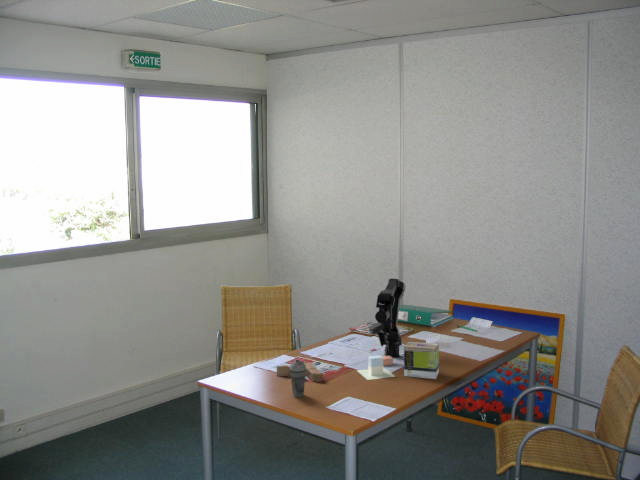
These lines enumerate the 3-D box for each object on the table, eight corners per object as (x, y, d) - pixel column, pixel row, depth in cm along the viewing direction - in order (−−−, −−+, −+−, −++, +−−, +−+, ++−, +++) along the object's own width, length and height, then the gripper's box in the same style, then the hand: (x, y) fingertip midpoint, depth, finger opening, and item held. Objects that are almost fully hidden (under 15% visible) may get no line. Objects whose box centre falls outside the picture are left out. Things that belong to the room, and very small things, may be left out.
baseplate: (383, 368, 306) (383, 367, 306) (395, 377, 293) (395, 376, 293) (356, 371, 302) (356, 370, 302) (367, 380, 288) (367, 379, 288)
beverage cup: (289, 392, 275) (288, 348, 272) (306, 391, 275) (305, 347, 273) (290, 398, 267) (289, 353, 265) (307, 398, 268) (306, 352, 266)
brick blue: (379, 363, 299) (379, 355, 299) (383, 365, 296) (383, 357, 295) (368, 364, 298) (368, 356, 297) (371, 367, 294) (371, 358, 293)
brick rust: (389, 363, 313) (389, 355, 313) (393, 365, 310) (393, 357, 309) (378, 364, 311) (378, 357, 311) (382, 367, 308) (382, 359, 307)
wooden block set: (309, 359, 304) (323, 370, 288) (309, 370, 305) (323, 382, 288) (275, 364, 298) (288, 375, 281) (276, 375, 298) (288, 387, 282)
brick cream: (379, 371, 300) (379, 363, 299) (383, 374, 296) (383, 365, 296) (368, 372, 298) (368, 364, 298) (371, 375, 294) (371, 367, 294)
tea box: (439, 373, 298) (439, 342, 296) (435, 380, 288) (436, 348, 287) (407, 370, 303) (407, 340, 301) (403, 376, 293) (403, 346, 292)
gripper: (363, 314, 314) (363, 345, 316) (378, 323, 296) (378, 355, 298) (384, 312, 317) (384, 342, 319) (399, 321, 300) (399, 353, 302)
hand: (385, 348), depth 310 cm, fingers open, 9 cm apart
